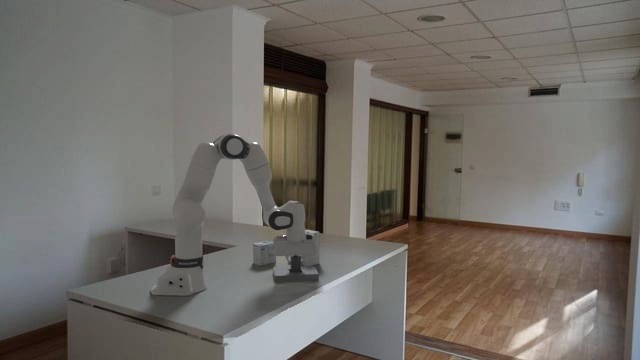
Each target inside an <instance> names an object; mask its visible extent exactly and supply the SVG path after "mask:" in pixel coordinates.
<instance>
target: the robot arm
mask: <svg viewBox="0 0 640 360" xmlns="http://www.w3.org/2000/svg"><path fill="white" fill-rule="evenodd" d="M223 159H224V160H230V161H231V160H239V161H240V162H241V164H242V166H243V167H244V170H245V173H246V175H247V178H248V180H249V181H250V183H251V185H252V186H253V188H254V189H255V191H256V194H257V196H258V200H259V202H260V205H261V219H262V222H263V223H264V224H265V225H266V226H268V227H269V228H271V229H273V230H275V231H281V230H285V235H277V236H274V237H273V240H272V242H273V243H274V245H275V246H274V254H275V256H276V257H285V259H286V260H287V266H290V265H291V260H290V256H292V255H302V256H303V258H302V260H301V264H304V260H305V258H306V255H316V254H317V244H316V241H315V240H314V239H315V236H314V234H313V233H311V232H307V231H305V230H306V226H305V221H306V209H305V205H304V204H303V203H302V202H300V201H298V200H297V201H296V200H288V201H286V203H284V204H283V205H281V206H278V205H277V204H276V202H275V200H274V196H273V194H272V191H271V188H270V184H271V180H272V178H273V173H272V169H271V168H272V167H271V165H270V164H271V163H270V162H269V159H268V157H267V155H266V153H265V151H264V149H263V148H262V146H261V145H260V144H259V143H258V142H257V141H255V142H254V141H251V142H247V140H245V139H244V138H243V137H241V136H240V135H239V134H235V133H225V134H222V135H221V136H219V137H217V138H216V140H214V141H213V142H207V141H203V142H201V143H200V144H198V145H197V147H196V148H195V151H194V152H193V155H192V157H191V159H190V163H189V166H188V168H187V171H186V174H185V177H184V180H183V182H182V185H181V186H180V188H179V190H178V193H177V194H176V198H175V199H174V202H173V204H172V208H171V209H172V210H171V211H172V214H173V216H174V218H175V219H176V231H175V237H174V238H175V239H174V246H175V248H174V249H175V254H172V255H171V256H170V266H168V267H167V268H166V269H165V270H163V271H162V272H161V273H159V275H158V277H157V281H156V284H154V285H153V286H152V287H151V289H150V294H151V295H152V296H185V297H186V296H191V295H193V294H197V293H199V292H200V293H201V292H202V291H203V290H206V289H207V287H208V286H207V283H206V279H205V274H204V267H205V265H204V264H205V260H204V259H205V258H204V254H203V234H204V233H203V232H204V227H205V219H206V210H205V207H204V205H203V201H204V199H205V197H206V195H207V194H208V192H210V191H209V190H210V189H211V185H212V182H213V180H214V177H215V173H216V170H217V166H218V165H219V162H220V161H221V160H223Z"/></svg>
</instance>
